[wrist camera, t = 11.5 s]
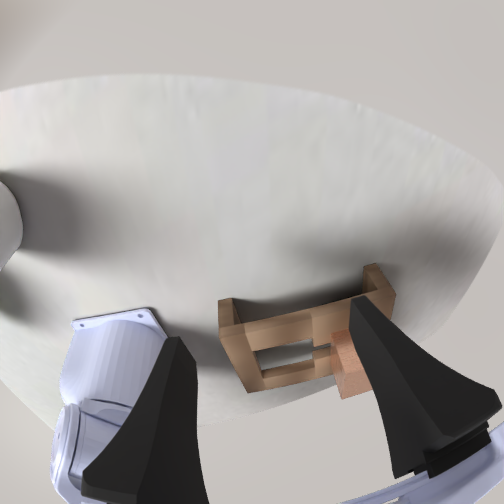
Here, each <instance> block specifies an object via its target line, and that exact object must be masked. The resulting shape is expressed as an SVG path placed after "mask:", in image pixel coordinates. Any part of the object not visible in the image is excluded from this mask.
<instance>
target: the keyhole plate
mask: <svg viewBox="0 0 504 504" xmlns="http://www.w3.org/2000/svg"><path fill="white" fill-rule="evenodd" d="M362 295H365V296H367V297H368V298H369V300H370V301H371V302H372V303H373V304H374V305H375V306H376V307H377V308H378V309H379V310H380V311H381V312H382V313H383V314H384V315H385V316H386V317H387V318H388V319H389V320H390V319H391V315H392V311H393V306H394V302H395V297H396V293H395V292H394V290H393V288H392V287H391V285H390V284H389V282H388V281H387V279H386V278H385V276H384V275H383V273H382V271H381V270H380V268H379V267H378V266H377V264H376V263H375V264H371V265H367V266H364V271H363V285H362V294H361V295H358V296H354V297H351V298H347V299H343V300H340V301H336V302H332V303H328V304H325V305H321V306H317V307H313V308H309V309H305V310H301V311H296V312H292V313H288V314H284V315H279V316H275V317H270V318H266V319H261V320H257V321H252V322H247V323H242V324H241V322H240V319H239V316H238V314H237V311H236V308H235V305H234V303H233V300H232V298H229V299H224V300H219V301H218V323H219V339H220V341H221V343H222V345H223V347H224V349H225V351H226V353H227V355H228V357H229V359H230V361H231V363H232V365H233V367H234V369H235V371H236V373H237V374H238V376H239V378H240V380H241V382H242V384H243V386H244V388H245V389H246V391H247V393H252V392H258V391H263V390H268V389H273V388H278V387H283V386H288V385H292V384H297V383H301V382H305V381H309V380H313V379H317V378H321V377H325V376H328V375H332V374H333V371H332V368H331V364H330V354H331V346H330V347H326V348H323V349H319V350H315V351H312V355H313V359H310V360H306V361H302V362H298V363H293V364H289V365H285V366H280V367H275V368H271V369H266V370H261V368H260V365H259V362H258V360H257V357H256V354H255V352H254V351H257V350H261V349H266V348H271V347H276V346H280V345H285V344H289V343H293V342H297V341H302V340H306V339H310V338H311V339H312V342H313V345H314V347H316V346H320V345H323V344H327V343H331V333H334V332H337V331H341V330H344V329H348V328H349V317H350V303H351V299H352V298H355V297H359V296H362Z"/></svg>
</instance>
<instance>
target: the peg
mask: <svg viewBox="0 0 504 504" xmlns="http://www.w3.org/2000/svg"><path fill="white" fill-rule="evenodd" d="M330 364H331V368H332V371H333V374H334V377H335V380H336V383H337V386H338V390H339V393H340V396H341V399H345V398H348V397H351V396H355V395H358V394H361V393H364V392H367V391H370V390H373V389H372V386H371V384H370V382H369V379H368V377H367V375H366V373H365V370H364V368H363V366H362V364H361V361H360V359H359V357H358V355H357V352H356V350H355V347H354V344H353V341H352V338H351V335H350V332H349V328H348V329H344V330H341V331H337V332H334V333H331V354H330Z"/></svg>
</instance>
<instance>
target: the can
mask: <svg viewBox="0 0 504 504" xmlns="http://www.w3.org/2000/svg"><path fill="white" fill-rule="evenodd" d="M22 237H23V223H22V219H21V214H20V210H19V206H18V204H17V201H16V199H15V197H14V195H13V194H12V193H11V191H10V190H9V188H8V187H6V186H5V185H4V184H3V183H2V182H0V271H1V270H2V268H3V267H4V266H5V264H6V263H7V262H8V260H9V259H10V258H11V256H12V255H13V254H14V252H15V251H16V250H17V249H18V247H19V246H20V244H21V241H22Z"/></svg>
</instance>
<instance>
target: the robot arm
mask: <svg viewBox="0 0 504 504" xmlns="http://www.w3.org/2000/svg"><path fill="white" fill-rule="evenodd" d="M141 314H142V315H141ZM71 326H72V328H73V329H74V330H75V332H74V335H73V338H72V341H71V343H70V346H69V349H68V352H67V355H66V358H65V361H64V365H63V368H62V371H61V375H60V392H61V396H62V399H63V401H64V403H65V405H66V406H64V407H63V408H62V410H61V412H60V415H59V418H58V421H57V424H56V428H55V433H54V437H53V443H52V453H51V464H50V478H51V481H52V482H53V486H54V488H55V490H56V491H57V493H58V494H59V495H60V496H61V497H62V498H63V499H64V500H65V501H66V502H67V503H68V504H209V501H208V497H207V493H206V489H205V485H204V481H203V475H202V470H201V464H200V458H199V449H198V440H197V396H198V379H197V368H196V361H195V360H194V358H193V357H192V355H191V354H190V352H189V351H188V349H187V348H186V346H185V345H184V343H183V342H182V340H181V338H180V337H179V336H178V337H171V338H168V337H167V335H166V334H165V332H164V331H163V329H162V328H161V326H160V325H159V323H158V322H157V320H156V318H155V317H154V315H153V314H152V312H151V311H150V310H149V309H146V308H145V309H139V310H133V311H127V312H122V313H116V314H110V315H105V316H99V317H93V318H87V319H80V320H74V321H72V323H71ZM349 332H350V335H351V338H352V341H353V344H354V347H355V350H356V352H357V355H358V357H359V359H360V361H361V364H362V366H363V368H364V370H365V373H366V375H367V377H368V379H369V382H370V384H371V386H372V389H373V391H374V394H375V396H376V399H377V402H378V405H379V409H380V413H381V416H382V420H383V424H384V428H385V432H386V436H387V441H388V446H389V451H390V457H391V463H392V471H393V475H394V478H395V479H397V478H399V477H402V476H404V475H406V474H408V473H411V472H413V471H414V474H415V476H413V477H411V478H409V479H406V480H404V481H402V482H399V483H397V484H395V485H392V486H390V487H387V488H385V489H382V490H379V491H377V492H374V493H371V494H368V495H365V496H362V497H359V498H355V499H352V500H349V501H345V502H342V503H338V504H382V503H385V502H387V501H390V500H393V499H395V498H397V497H399V499H398V501H396V502H393V503H389V504H474V503H476V502H477V501H478V500H479V499H481V498H482V497H483V496H484V495H486V494H487V493H488V492H489V491H490V490H491V489H492V488H494V487H495V486H496V485H497V484H498V483H499V482H500V481H502V480H503V479H504V422H502V423H501V424H500V425H498V426H497V427H496V428H494V429H493V430H491V431H490V432H488V431H487V428H488V427H489V425H488V422H487V420H488V419H490V418H491V417H492V416H493V415H495V414H496V413H497V412H498V411H499V410H500V409H501V408H502V404H501V402H500V400H499V397H498V395H497V394H496V392H495V390H494V389H491V388H489V387H486V386H484V385H481V384H479V383H477V382H475V381H473V380H471V379H469V378H467V377H465V376H463V375H461V374H460V373H458V372H456V371H455V370H453V369H451V368H449V367H448V366H446V365H444V364H443V363H441V362H440V361H438V360H437V359H436V358H434V357H433V356H431V355H430V354H428V353H427V352H426V351H425V350H423V349H422V348H421V347H420V346H418V345H417V344H416V343H415V342H413V341H412V340H411V339H410V338H409V337H408V336H406V335H405V334H404V333H403V332H402V331H401V330H400V329H399V328H398V327H397V326H396V325H394V324H393V323H392V322H391V321H390V320H389V319H388V318H387V317H386V316H385V315H384V314H383V313H382V312H381V311H380V310H379V309H378V308H377V307H376V306H375V305H374V304H373V303H372V302H371V301H370V300H369V298H368V297H367V296H365V295H362V296H359V297H355V298H352V299H351V303H350V317H349Z"/></svg>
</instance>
